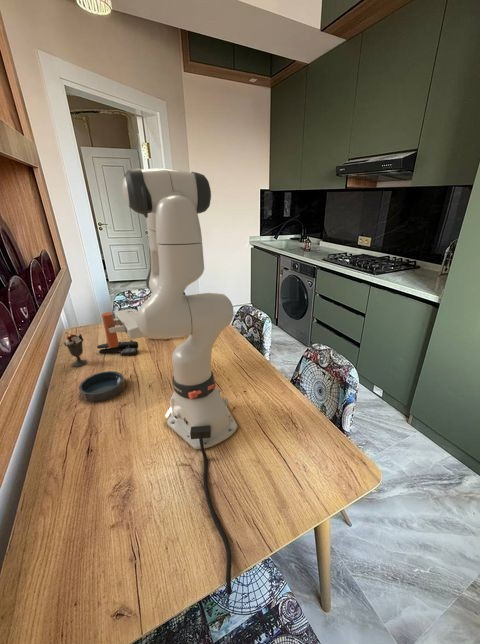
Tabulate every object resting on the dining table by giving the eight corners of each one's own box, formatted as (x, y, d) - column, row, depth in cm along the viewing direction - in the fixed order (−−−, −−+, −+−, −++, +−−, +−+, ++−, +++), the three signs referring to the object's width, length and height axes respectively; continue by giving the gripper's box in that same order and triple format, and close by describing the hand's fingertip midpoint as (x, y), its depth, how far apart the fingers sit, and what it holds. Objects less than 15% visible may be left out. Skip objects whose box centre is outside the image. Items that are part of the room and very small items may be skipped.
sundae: (67, 369, 114) (58, 334, 108) (73, 360, 120) (64, 327, 114) (86, 366, 116) (77, 333, 110) (90, 358, 122) (82, 326, 116)
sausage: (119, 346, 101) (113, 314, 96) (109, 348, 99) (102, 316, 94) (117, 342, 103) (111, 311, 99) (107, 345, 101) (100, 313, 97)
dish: (129, 392, 101) (127, 384, 100) (85, 408, 93) (82, 399, 92) (119, 375, 111) (117, 367, 109) (78, 387, 103) (76, 379, 102)
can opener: (142, 349, 130) (140, 338, 127) (136, 357, 123) (133, 345, 121) (103, 348, 130) (100, 337, 127) (94, 356, 123) (91, 344, 121)
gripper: (138, 302, 112) (98, 310, 104) (157, 319, 97) (112, 329, 89) (140, 317, 115) (102, 326, 107) (159, 336, 100) (116, 347, 92)
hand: (107, 328), depth 98 cm, fingers closed on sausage, 3 cm apart
